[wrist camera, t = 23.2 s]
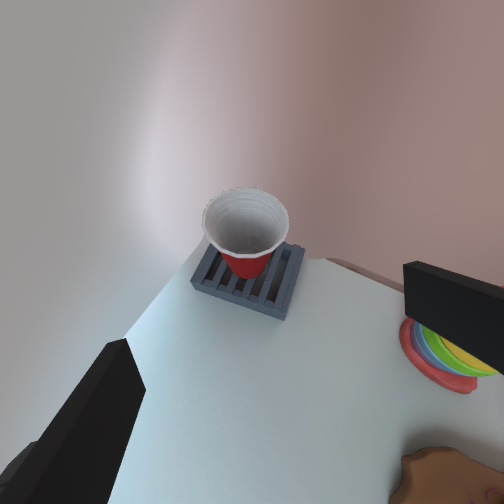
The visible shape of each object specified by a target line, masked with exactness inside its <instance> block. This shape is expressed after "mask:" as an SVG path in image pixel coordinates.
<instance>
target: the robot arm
mask: <svg viewBox="0 0 504 504" xmlns="http://www.w3.org/2000/svg"><path fill="white" fill-rule="evenodd" d="M403 273H404V274H403V275H404V297H405V315H407V316H408V317H410V318H412V319H413V320H415V321H417V322H418V323H420V324H421V325H423V326H425V327H426V328H428V329H430V330H431V331H433V332H434V333H436V334H438V335H439V336H441V337H443V338H444V339H446V340H448V341H449V342H451V343H452V344H454V345H456V346H457V347H459V348H461V349H462V350H464V351H465V352H467V353H469V354H470V355H472V356H474V357H475V358H477V359H478V360H480V361H482V362H483V363H485V364H487V365H488V366H490V367H492V368H493V369H495V370H496V371H498V372H500V373H501V374H503V375H504V288H502V287H499V286H496V285H492V284H490V283H486V282H483V281H480V280H476V279H473V278H470V277H467V276H464V275H461V274H458V273H455V272H451V271H448V270H445V269H442V268H439V267H436V266H432V265H429V264H426V263H423V262H419V261H415V262H410V263H407V264H403ZM145 392H146V389H145V386H144V383H143V381H142V378H141V376H140V373H139V371H138V368H137V365H136V363H135V360H134V358H133V355H132V353H131V350H130V347H129V345H128V342H127V340H126V338H124V339H121V340H117V341H113V342H109V343H107V344H106V346H105V347H104V348H103V350H102V351H101V353H100V354H99V355H98V357H97V358H96V360H95V361H94V363H93V364H92V365H91V367H90V368H89V370H88V371H87V372H86V374H85V375H84V377H83V378H82V379H81V381H80V382H79V384H78V385H77V386H76V388H75V389H74V391H73V392H72V394H71V395H70V396H69V398H68V399H67V400H66V402H65V403H64V405H63V406H62V408H61V409H60V410H59V412H58V413H57V415H56V416H55V417H54V419H53V420H52V421H51V423H50V424H49V426H48V427H47V429H46V430H45V431H44V433H43V434H42V436H41V437H40V438H39V440H38V441H35V442H31V443H30V444H29V445H28V446H27V447H26V448H25V449H24V450H23V451H22V452H21V453H20V454H19V455H18V456H17V457H16V458H14V459H13V460H12V461H11V463H9V464H8V466H7V467H6V469H5V470H4V471H3V473H2V474H1V475H0V504H107V503H108V500H109V498H110V495H111V492H112V489H113V486H114V483H115V480H116V477H117V474H118V471H119V468H120V465H121V462H122V459H123V456H124V453H125V450H126V447H127V445H128V442H129V439H130V436H131V433H132V430H133V427H134V424H135V421H136V418H137V415H138V412H139V409H140V406H141V403H142V400H143V397H144V395H145Z"/></svg>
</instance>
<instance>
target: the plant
mask: <svg viewBox="0 0 504 504" xmlns="http://www.w3.org/2000/svg"><path fill="white" fill-rule="evenodd" d="M402 466H403V480H402V483H401V485H400V487H399V489H398V490H397V491H396V493H394V494H393V495H392V496H391V497H390V501H389V504H504V473H502V472H499V471H497V470H494V469H492V468H489V467H487V466H485V465H482V464H480V463H478V462H476V461H474V460H471V459H470V458H468V457H467V456H465V455H464V454H462V453H461V452H460V451H458V450H456V449H453V448H450V447H445V446H442V447H440V448H423V449H421V450H419V451H418V452H416V453H415V454H412V455H408V456H403V457H402Z"/></svg>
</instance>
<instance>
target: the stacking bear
mask: <svg viewBox="0 0 504 504" xmlns="http://www.w3.org/2000/svg"><path fill="white" fill-rule="evenodd" d="M501 287H502V288H504V286H501ZM400 342H401V346H402V348H403V350H404V352H405V354H406V356H407V357H408V359H409V360H410V361H411V362H412V363H413V364H414V365H415V366H416V367H417V368H418V369H419V370H420V371H421V372H422V373H423V374H424V375H426V376H427V377H428V378H430V379H431V380H433V381H434V382H436V383H437V384H439V385H441V386H443V387H445V388H447V389H449V390H452V391H455V392H458V393H462V394H468V393H470V392H471V391H472V390H475V389H476V388H477V377H479V376H480V377H482V376H488V375H493V374H496V373H499V372H498V371H496V370H495V369H493V368H492V367H490V366H488V365H487V364H485V363H483V362H482V361H480V360H478V359H477V358H475V357H474V356H472V355H470V354H469V353H467V352H465V351H464V350H462V349H461V348H459V347H457V346H456V345H454V344H452V343H451V342H449V341H448V340H446V339H444V338H443V337H441V336H439V335H438V334H436V333H434V332H433V331H431V330H430V329H428V328H426V327H425V326H423V325H421V324H420V323H418V322H417V321H415V320H413V319H412V318H410V317H409V318H407V319H406V320H405V321H404V322H403V324H402V326H401V329H400Z"/></svg>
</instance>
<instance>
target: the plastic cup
mask: <svg viewBox="0 0 504 504" xmlns="http://www.w3.org/2000/svg"><path fill="white" fill-rule="evenodd" d="M289 227H290V226H289V217H288V212H287V211H286V209H285V208H284V206H283V204H282V203H281V201H279V200H278V199H277V198H275V197H274V196H273V195H271V194H270V193H268V192H265V191H262V190H259V189H256V188H243V187H237V188H234V189H230V190H227V191H223V192H221V193H220V194H219V195H217V196H216V197H214V198H213V199H211V200H210V202H209V203H208V205H207V206H206V208H205V210H204V211H203V218H202V228H203V230H204V233H205V235H206V238H207V240H208V241H209V242H210V243H211V244H212V245H214V246H215V247H216V248H217V250H219V252H220V254H221V255H222V257H223V258H224V260H225V262H226V263H227V265H228V266H229V267H230V268H231V270H232V271H233V272H234V273H235V274H236V275H237V276H239V277H241V278H244V279H252V278H254V277H257V276H259V275H260V274H261V273H262V272H263V271H264V269H265V266H266V264H267V263H268V261H269V258H270V256H271V254H272V252H273V250H274V249H276V248H277V247H278V246H279V245H280V244H281V243H282V242H283V241H284V240H285V237H286V235H287V232H288V230H289Z"/></svg>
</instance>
